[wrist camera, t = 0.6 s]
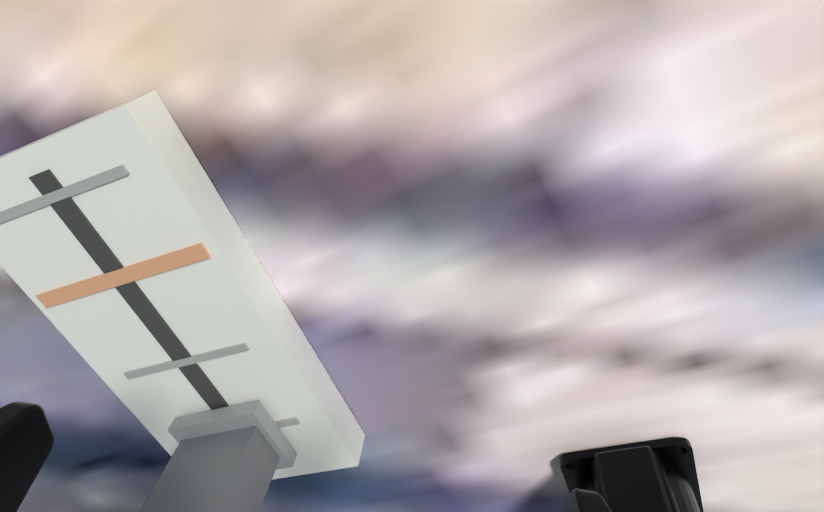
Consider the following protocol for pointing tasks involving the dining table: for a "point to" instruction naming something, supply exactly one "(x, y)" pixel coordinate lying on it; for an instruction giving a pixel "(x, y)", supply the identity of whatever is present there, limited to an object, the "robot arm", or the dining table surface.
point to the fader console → (162, 283)
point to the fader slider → (221, 461)
